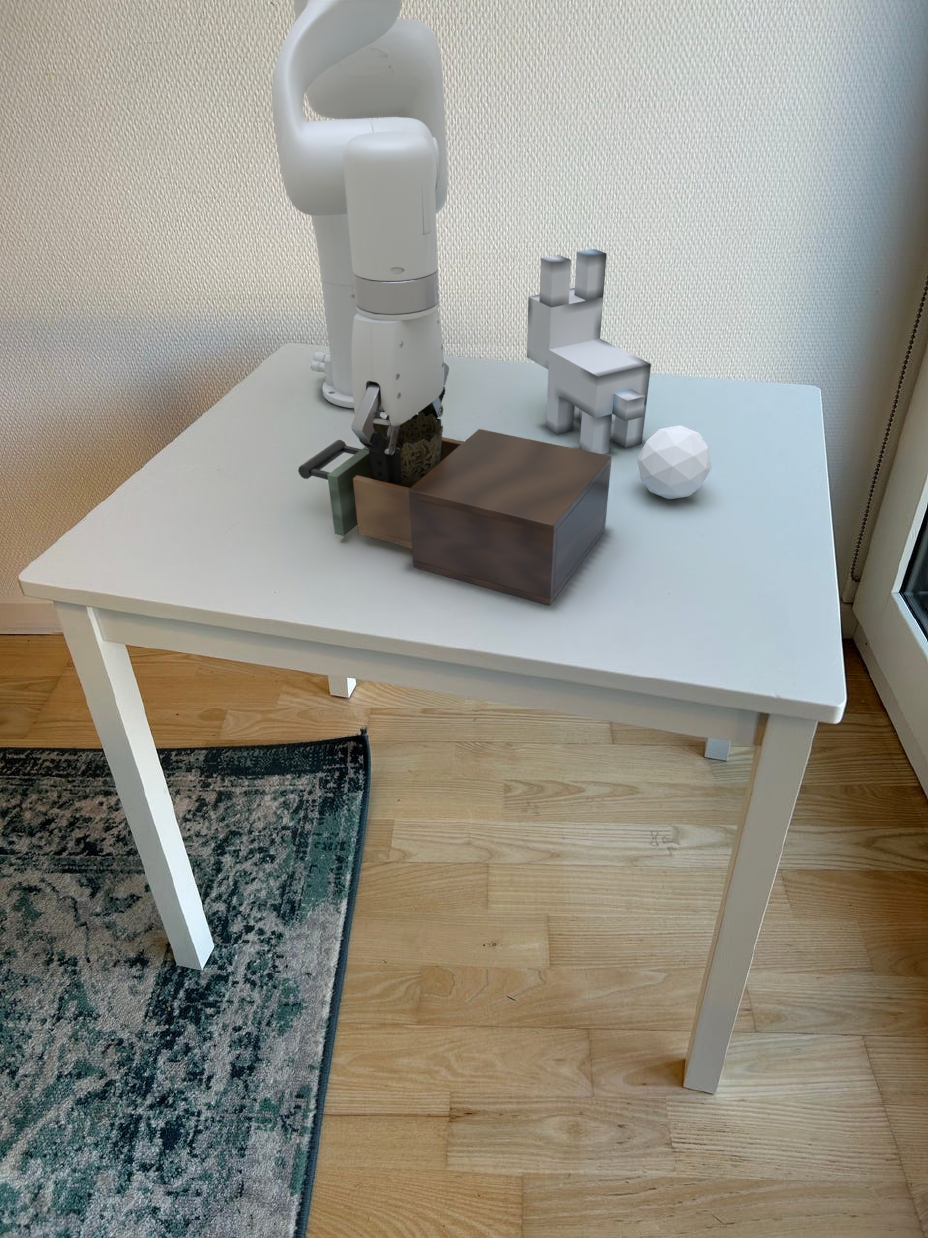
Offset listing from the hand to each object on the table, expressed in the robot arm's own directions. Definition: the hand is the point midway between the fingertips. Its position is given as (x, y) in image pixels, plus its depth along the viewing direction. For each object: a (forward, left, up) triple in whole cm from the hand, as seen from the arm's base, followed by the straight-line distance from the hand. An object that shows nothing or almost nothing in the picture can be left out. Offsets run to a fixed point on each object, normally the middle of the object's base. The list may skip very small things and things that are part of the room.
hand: (408, 468), depth 88 cm
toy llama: (+9, +29, -7) cm, 31 cm away
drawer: (-1, 0, -6) cm, 6 cm away
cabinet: (+12, 0, -6) cm, 13 cm away
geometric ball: (+23, +18, -7) cm, 30 cm away
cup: (0, 0, -4) cm, 4 cm away
